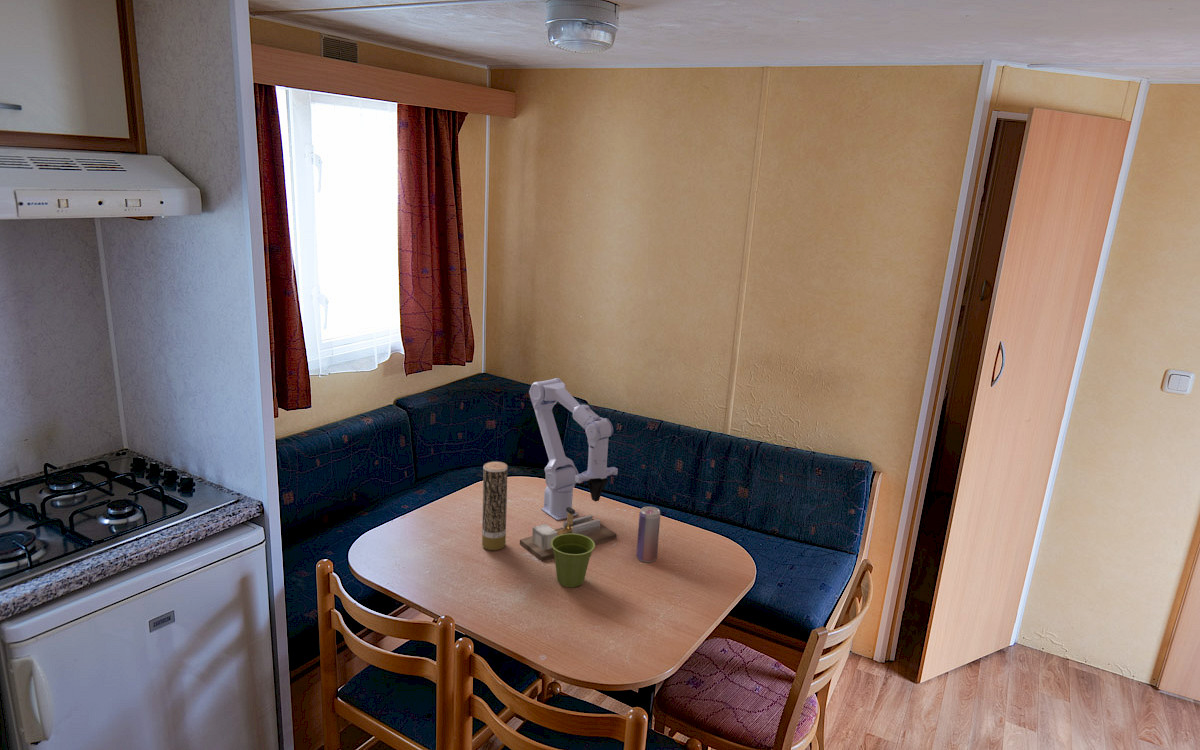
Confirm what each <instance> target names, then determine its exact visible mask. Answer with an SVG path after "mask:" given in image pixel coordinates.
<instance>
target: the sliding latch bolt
mask: <svg viewBox="0 0 1200 750" xmlns="http://www.w3.org/2000/svg"><path fill="white" fill-rule="evenodd" d="M566 511H567V512H568V513H567V518H566V521H567V528H564V529H561V530H557V531H556V532H558V535H561V534H568V533H571V526H573V519H574V516H573V514H575V512H576V510H575V509H574V508H573V507H572V508H570V507H567V508H566Z"/></svg>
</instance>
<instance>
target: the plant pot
mask: <svg viewBox="0 0 1200 750" xmlns="http://www.w3.org/2000/svg"><path fill="white" fill-rule="evenodd" d="M551 546H552V548H553V552H554V555H555V558H554V563H555V572H556V573H555V574H556V580H557V583H559V584H560V585H561V586H563V587H565V588H576V587H577V586H582V585H583V584H584V582H585V578H586V574H587V571H588V570H587V569H588V567H589V562H590V559H591V556H592V552H593V551H594V550H595V548H596V545H595V543H594V541H593V540H592V539H591V538H589V537H587V536H584V535H581V534H574V533H568V534H561V535H558V536H556V537H554V538H553V539H552V541H551Z"/></svg>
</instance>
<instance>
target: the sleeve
mask: <svg viewBox="0 0 1200 750" xmlns="http://www.w3.org/2000/svg"><path fill="white" fill-rule="evenodd" d="M592 519H594V520H592ZM600 523H601V520H600V519H598V518H596V519H595V518H594V515H592V514H587V515H584V516H579V517H576V518H573V526H571V533H574V534H581V535H584V536H589V535H592V534H596V533H599V529H600ZM563 527H564V528H567V520H566V521H563Z"/></svg>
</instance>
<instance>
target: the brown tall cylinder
mask: <svg viewBox="0 0 1200 750" xmlns="http://www.w3.org/2000/svg"><path fill="white" fill-rule="evenodd" d="M482 468H483V470H482V472H483V473H482V474H483V475H482V477H483V478H482V481H483V482H482V524H481V525H482V529H481V530H482V531H481V532H482V536H481V537H482V538H481V539H482V541H481V542H482V543H481V544H482V545H481V546H482V547H483V548H484V549H485V550H487V551H499V550H501V549H504V548H505V546H506V541H507V540H506V539H507V537H506V536H507V509H508V507H507V506H508V505H507V504H508V502H507V500H508V471H509V470H508V464H507V463H505V462H502V461H488V462H486V463H484V464H483V467H482Z"/></svg>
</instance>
